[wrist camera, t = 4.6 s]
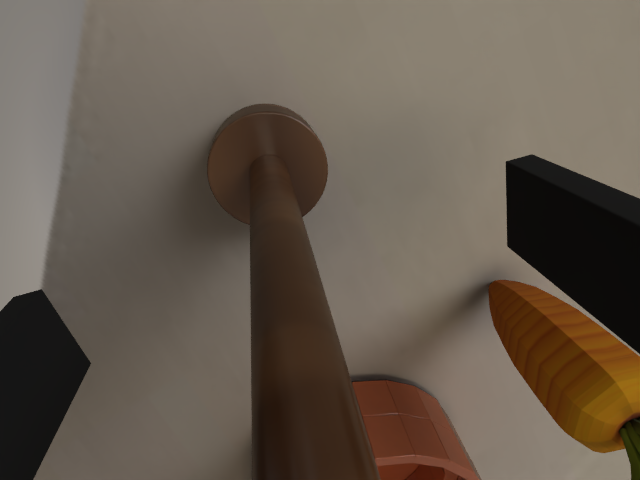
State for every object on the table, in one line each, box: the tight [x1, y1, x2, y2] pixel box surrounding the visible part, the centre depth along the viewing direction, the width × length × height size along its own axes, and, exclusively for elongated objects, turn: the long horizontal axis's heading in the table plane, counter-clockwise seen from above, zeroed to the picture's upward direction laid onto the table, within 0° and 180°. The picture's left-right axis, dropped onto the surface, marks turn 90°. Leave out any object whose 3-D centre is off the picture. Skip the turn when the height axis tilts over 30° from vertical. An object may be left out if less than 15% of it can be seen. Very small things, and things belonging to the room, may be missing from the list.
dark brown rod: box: [207, 104, 381, 480], centre depth 13 cm, size 6×6×18 cm
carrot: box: [488, 280, 640, 480], centre depth 21 cm, size 5×5×15 cm
